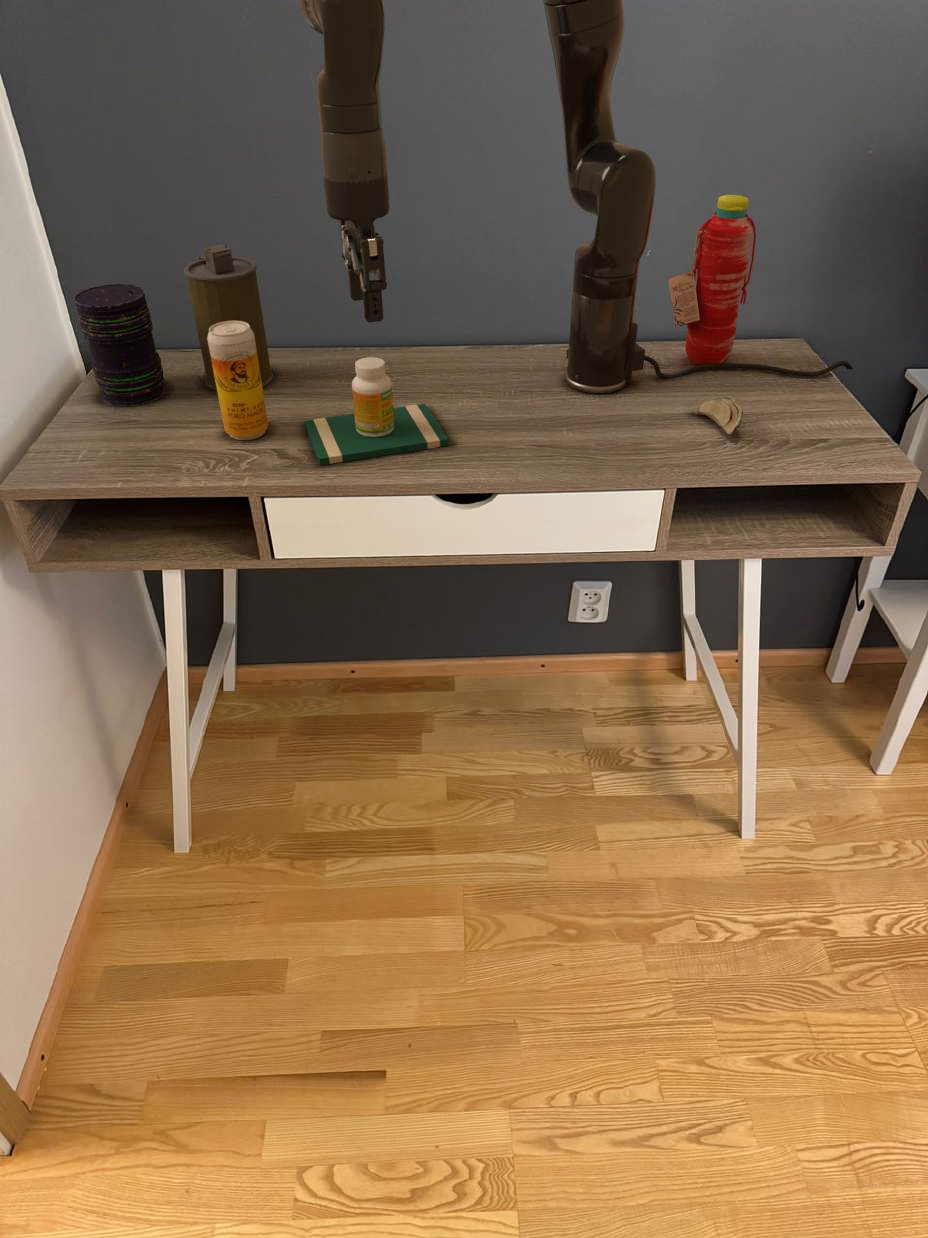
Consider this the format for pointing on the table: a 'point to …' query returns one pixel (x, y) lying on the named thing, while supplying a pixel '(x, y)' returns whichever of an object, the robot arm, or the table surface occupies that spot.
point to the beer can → (238, 379)
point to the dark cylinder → (121, 344)
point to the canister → (226, 302)
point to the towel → (344, 443)
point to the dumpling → (722, 413)
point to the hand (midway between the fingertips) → (366, 309)
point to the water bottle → (715, 282)
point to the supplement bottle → (372, 398)
